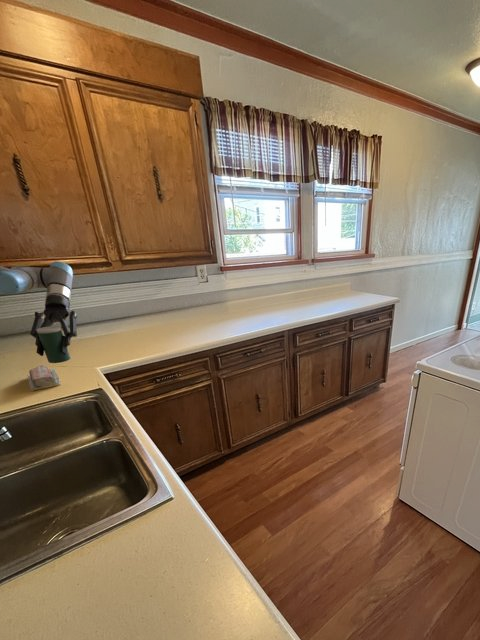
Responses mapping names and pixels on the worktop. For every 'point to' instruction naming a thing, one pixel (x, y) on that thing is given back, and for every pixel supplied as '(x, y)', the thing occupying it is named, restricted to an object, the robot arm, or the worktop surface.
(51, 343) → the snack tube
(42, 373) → the packaged product
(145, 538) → the worktop surface
